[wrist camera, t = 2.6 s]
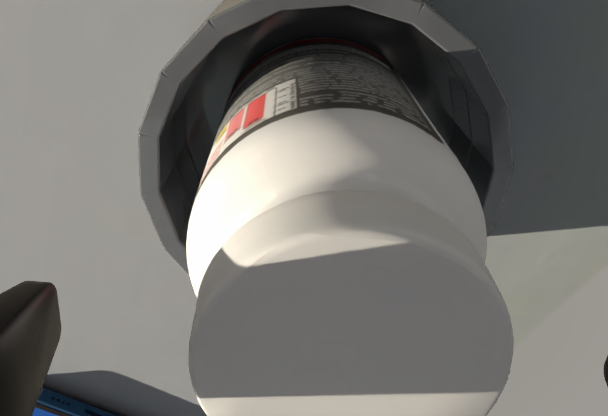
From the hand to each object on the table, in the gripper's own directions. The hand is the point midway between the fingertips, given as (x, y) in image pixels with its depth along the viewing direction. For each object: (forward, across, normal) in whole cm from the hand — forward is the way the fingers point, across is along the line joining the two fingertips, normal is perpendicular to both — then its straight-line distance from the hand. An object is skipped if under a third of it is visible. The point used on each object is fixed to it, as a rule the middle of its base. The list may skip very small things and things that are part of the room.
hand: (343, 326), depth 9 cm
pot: (+9, 0, 0) cm, 9 cm away
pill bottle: (+9, 0, 0) cm, 9 cm away
